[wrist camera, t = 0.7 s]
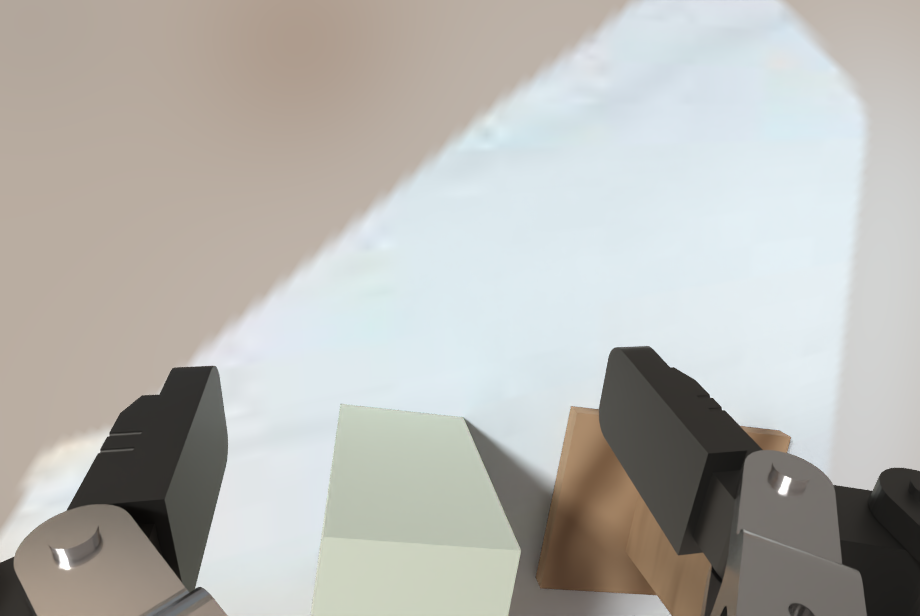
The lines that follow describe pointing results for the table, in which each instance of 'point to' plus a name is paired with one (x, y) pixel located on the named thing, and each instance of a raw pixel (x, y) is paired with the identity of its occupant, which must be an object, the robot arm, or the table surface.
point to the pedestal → (411, 521)
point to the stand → (617, 526)
